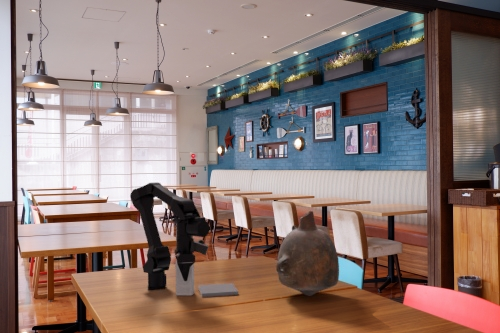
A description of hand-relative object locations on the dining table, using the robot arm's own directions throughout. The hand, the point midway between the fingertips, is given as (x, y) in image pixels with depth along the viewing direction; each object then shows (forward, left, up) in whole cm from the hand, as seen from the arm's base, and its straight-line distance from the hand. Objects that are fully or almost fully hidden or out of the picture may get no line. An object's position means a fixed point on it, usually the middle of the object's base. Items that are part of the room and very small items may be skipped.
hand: (184, 278), depth 177 cm
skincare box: (0, 0, -6) cm, 6 cm away
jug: (+42, -13, -6) cm, 44 cm away
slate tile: (+12, +1, -6) cm, 13 cm away
